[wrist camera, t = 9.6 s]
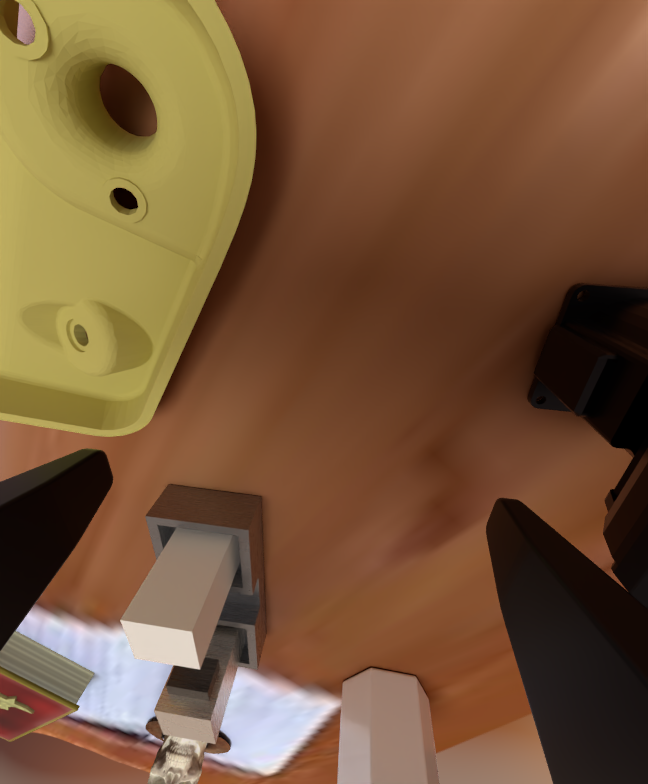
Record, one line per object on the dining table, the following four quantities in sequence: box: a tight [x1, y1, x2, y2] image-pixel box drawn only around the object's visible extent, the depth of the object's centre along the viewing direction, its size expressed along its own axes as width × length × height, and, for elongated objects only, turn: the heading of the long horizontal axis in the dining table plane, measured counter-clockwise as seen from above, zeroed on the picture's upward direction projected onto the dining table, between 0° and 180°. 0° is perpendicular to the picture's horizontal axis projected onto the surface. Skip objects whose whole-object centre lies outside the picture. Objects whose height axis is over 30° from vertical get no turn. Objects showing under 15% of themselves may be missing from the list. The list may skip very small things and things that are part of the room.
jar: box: [337, 668, 439, 784], centre depth 30 cm, size 9×8×12 cm
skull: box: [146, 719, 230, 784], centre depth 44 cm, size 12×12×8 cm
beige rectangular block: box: [120, 528, 240, 670], centre depth 22 cm, size 4×5×7 cm
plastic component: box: [0, 0, 256, 437], centre depth 16 cm, size 20×7×10 cm
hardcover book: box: [0, 631, 94, 742], centre depth 43 cm, size 12×21×4 cm, turn 133°
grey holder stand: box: [145, 485, 266, 744], centre depth 25 cm, size 7×18×8 cm, turn 177°
